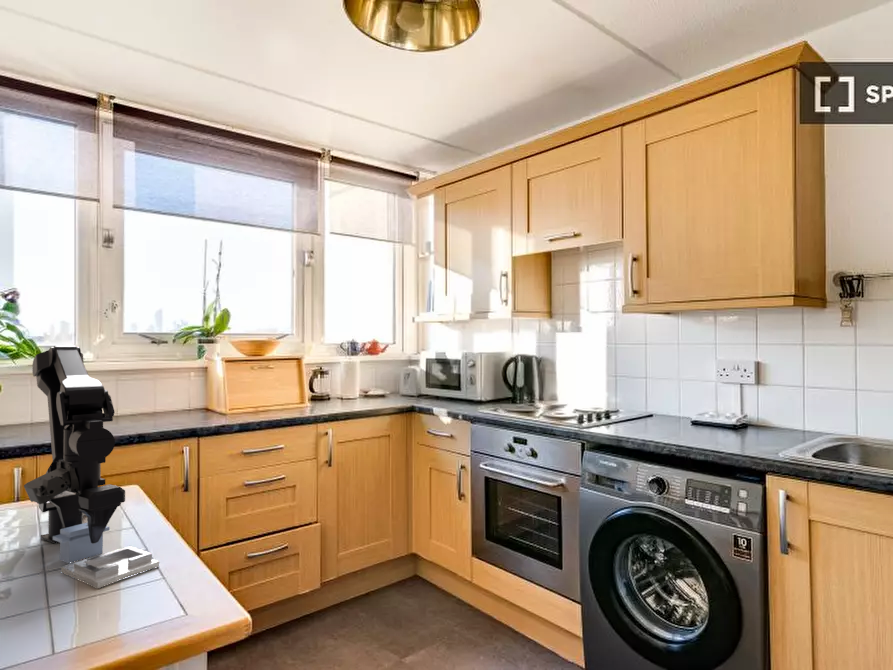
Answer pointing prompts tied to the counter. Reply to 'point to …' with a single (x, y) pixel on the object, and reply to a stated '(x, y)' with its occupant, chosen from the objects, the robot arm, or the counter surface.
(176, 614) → the counter surface
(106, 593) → the counter surface
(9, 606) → the counter surface
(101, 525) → the robot arm
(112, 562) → the mount plate
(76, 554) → the block
